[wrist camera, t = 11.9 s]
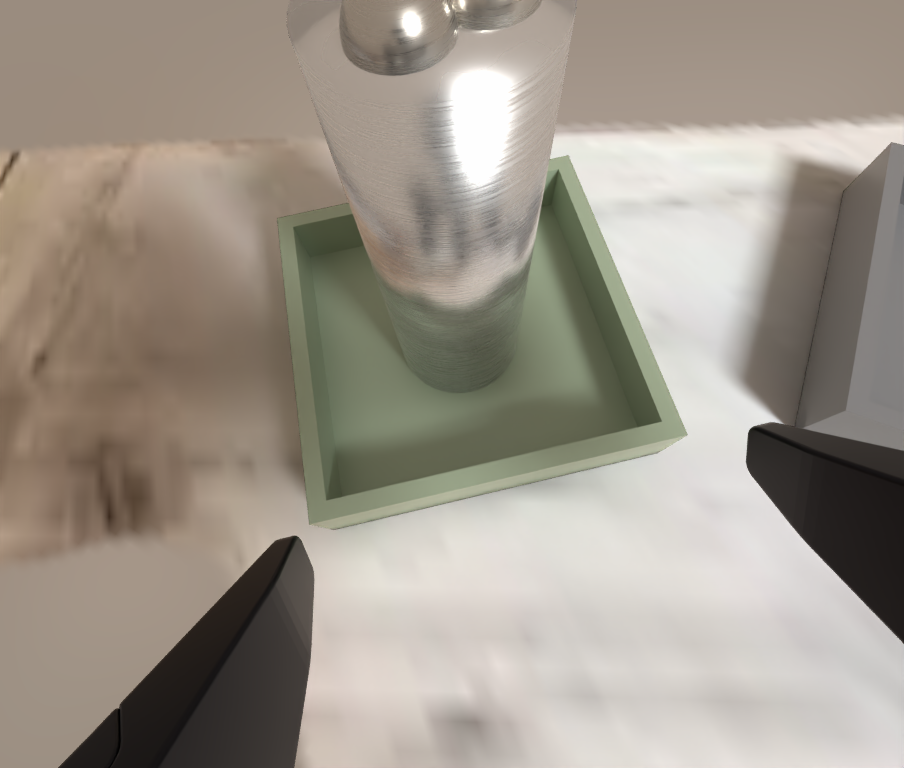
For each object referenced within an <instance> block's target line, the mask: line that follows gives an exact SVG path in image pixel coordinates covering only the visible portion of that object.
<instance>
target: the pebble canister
mask: <svg viewBox="0 0 904 768" xmlns="http://www.w3.org/2000/svg"><path fill="white" fill-rule="evenodd" d="M576 4H577V0H290V1H289V6H288V11H287V28H288V33H289V38H290V40H291V43H292V46H293V49H294V52H295V54H296V57H297V60H298V62H299V65H300V68H301V71H302V74H303V76H304V79H305V82H306V85H307V88H308V90H309V93H310V96H311V99H312V101H313V104H314V107H315V110H316V113H317V115H318V118H319V121H320V124H321V126H322V129H323V132H324V135H325V138H326V141H327V143H328V146H329V149H330V152H331V154H332V157H333V160H334V163H335V166H336V168H337V171H338V174H339V177H340V179H341V182H342V185H343V188H344V191H345V193H346V196H347V199H348V202H349V205H350V207H351V210H352V213H353V216H354V218H355V221H356V224H357V227H358V230H359V232H360V235H361V238H362V241H363V243H364V246H365V249H366V252H367V255H368V257H369V260H370V263H371V266H372V269H373V271H374V274H375V277H376V280H377V282H378V285H379V288H380V291H381V294H382V296H383V299H384V302H385V305H386V307H387V310H388V313H389V316H390V319H391V321H392V324H393V327H394V330H395V332H396V335H397V338H398V341H399V344H400V346H401V349H402V352H403V355H404V357H405V360H406V362H407V364H408V366H409V368H410V369H411V371H412V372H413V373H414V374H415V375H416V376H417V377H418V378H419V379H420V380H421V381H423V382H424V383H425V384H427V385H429V386H431V387H433V388H435V389H438V390H441V391H445V392H452V393H465V392H471V391H475V390H479V389H481V388H484V387H486V386H488V385H489V384H491V383H493V382H494V381H496V380H497V379H498V378H499V377H500V376H501V375H502V374H503V373H504V372H505V371H506V370H507V368H508V367H509V365H510V363H511V362H512V359H513V357H514V354H515V350H516V345H517V340H518V334H519V328H520V323H521V317H522V312H523V306H524V300H525V295H526V289H527V283H528V278H529V272H530V266H531V261H532V255H533V250H534V244H535V238H536V233H537V227H538V221H539V216H540V210H541V205H542V199H543V193H544V188H545V182H546V176H547V171H548V165H549V160H550V154H551V148H552V143H553V137H554V131H555V126H556V120H557V114H558V109H559V103H560V97H561V92H562V86H563V81H564V75H565V69H566V64H567V57H568V52H569V47H570V41H571V36H572V30H573V24H574V19H575V13H576Z"/></svg>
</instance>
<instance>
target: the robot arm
mask: <svg viewBox="0 0 904 768" xmlns="http://www.w3.org/2000/svg"><path fill="white" fill-rule="evenodd" d="M746 464H747V468H748V470H749V472H750V474H751V476H752V477H753V478H754V479H755V481H756V482H757V483H758V484H759V486H760V487H761V488H762V489H763V491H764V492H765V493H766V494H767V496H768V497H769V498H770V499H771V501H772V502H773V503H774V504H775V506H776V507H777V508H778V509H779V511H780V512H781V513H782V514H783V516H784V517H785V518H786V519H787V521H788V522H789V523H790V524H791V526H792V527H793V528H794V529H795V530H796V531H797V533H798V534H799V535H800V536H801V537H802V538H803V540H804V541H805V542H806V543H807V544H808V545H809V546H810V547H811V548H812V549H813V550H814V551H815V552H816V553H817V554H818V555H819V557H820V558H821V559H822V560H823V561H824V562H825V563H826V564H827V565H828V566H829V567H830V568H831V569H832V570H833V571H834V572H835V573H836V574H837V575H838V576H839V577H840V578H841V579H842V580H843V581H844V582H845V583H846V584H847V585H848V587H849V588H850V589H851V590H852V591H853V592H854V593H855V594H856V595H857V596H858V597H859V598H860V599H861V600H862V601H863V602H864V603H865V604H866V605H867V606H868V607H869V608H870V609H871V610H872V611H873V612H874V613H875V614H876V615H877V616H878V618H879V619H880V620H881V621H882V622H883V623H884V624H885V625H886V626H887V627H888V628H889V629H890V630H891V631H892V632H893V633H894V634H895V635H896V636H897V637H898V638H899V639H900V640H901V641H902V642H903V643H904V451H903V450H898V449H894V448H889V447H885V446H880V445H875V444H871V443H866V442H862V441H857V440H853V439H848V438H843V437H839V436H834V435H830V434H825V433H821V432H816V431H811V430H807V429H802V428H798V427H793V426H789V425H784V424H780V423H774V422H770V423H765V424H761V425H757V426H754V427H752V428H751V429H750V430H749V432H748V441H747V455H746ZM313 599H314V571H313V567H312V565H311V562H310V560H309V558H308V555H307V553H306V550H305V548H304V546H303V543H302V541H301V540H300V538H299V537H297V536H291V537H287V538H282V539H279V540H276V541H275V542H274V543H273V544H272V545H271V546H270V547H269V548H268V549H267V550H266V551H265V552H264V553H263V554H262V555H261V556H260V557H259V558H258V559H257V560H256V561H255V562H254V564H253V565H252V566H251V567H250V568H249V569H248V570H247V571H246V572H245V573H244V574H243V575H242V576H241V577H240V578H239V579H238V580H237V581H236V582H235V583H234V585H233V586H232V587H231V588H230V589H229V590H228V591H227V592H226V593H225V594H224V595H223V596H222V597H221V598H220V599H219V600H218V601H217V603H216V604H215V605H214V606H213V607H212V608H211V609H210V610H209V611H208V612H207V613H206V614H205V615H204V616H203V617H202V618H201V619H200V621H198V623H196V625H195V626H194V627H193V628H192V629H191V630H190V631H189V632H188V633H187V634H186V635H185V636H184V637H183V638H182V639H181V640H180V641H179V642H178V643H177V644H176V646H175V647H174V648H173V649H172V650H171V651H170V652H169V653H168V654H167V655H166V656H165V657H164V658H163V659H162V660H161V661H160V662H159V663H158V665H157V666H156V667H155V668H154V669H153V670H152V671H151V672H150V673H149V674H148V675H147V676H146V677H145V678H144V679H143V680H142V681H141V682H140V683H139V684H138V685H137V687H136V688H135V689H134V690H133V691H132V692H131V693H130V694H129V695H128V696H127V697H126V698H125V699H124V700H123V701H122V702H121V704H120V707H119V709H118V708H117V709H115V710H114V711H113V712H112V713H111V714H110V715H109V716H108V717H107V718H106V719H105V720H104V721H103V722H102V723H101V724H100V725H99V726H98V727H97V729H95V731H94V732H93V733H92V734H91V735H90V736H89V737H88V738H87V739H86V740H85V741H84V742H83V743H82V744H81V745H80V746H79V747H78V748H77V749H76V750H75V751H74V752H73V753H72V754H71V755H70V756H69V757H68V758H67V759H66V760H65V761H64V762H63V763H62V764H61V765H60V766H59V767H58V768H294V766H295V759H296V753H297V746H298V740H299V733H300V727H301V720H302V714H303V707H304V701H305V694H306V688H307V681H308V675H309V667H310V659H311V645H312V622H313Z"/></svg>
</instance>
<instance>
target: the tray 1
mask: <svg viewBox="0 0 904 768" xmlns="http://www.w3.org/2000/svg"><path fill="white" fill-rule="evenodd" d="M277 223H278V232H279V242H280V251H281V261H282V270H283V280H284V289H285V299H286V308H287V318H288V327H289V337H290V346H291V356H292V365H293V375H294V384H295V394H296V403H297V413H298V422H299V432H300V441H301V450H302V460H303V469H304V479H305V488H306V498H307V507H308V517H309V525H314V526H318V527H323V528H328V529H332V530H336V529H340V528H344V527H348V526H352V525H357V524H361V523H365V522H369V521H374V520H378V519H382V518H386V517H390V516H395V515H399V514H403V513H407V512H411V511H416V510H420V509H424V508H428V507H432V506H437V505H441V504H445V503H449V502H454V501H458V500H462V499H466V498H470V497H475V496H479V495H483V494H487V493H491V492H496V491H500V490H504V489H508V488H513V487H517V486H521V485H525V484H529V483H534V482H538V481H542V480H546V479H550V478H555V477H559V476H563V475H567V474H572V473H576V472H580V471H584V470H588V469H593V468H597V467H601V466H605V465H609V464H614V463H618V462H622V461H626V460H631V459H635V458H639V457H643V456H647V455H652V454H656V453H659V452H660V451H662V450H664V449H665V448H667V447H669V446H670V445H672V444H674V443H675V442H677V441H679V440H680V439H682V438H684V437H685V436H687V432H686V430H685V428H684V425H683V423H682V421H681V418H680V416H679V414H678V411H677V409H676V407H675V404H674V402H673V400H672V397H671V395H670V393H669V390H668V388H667V386H666V383H665V381H664V378H663V376H662V374H661V371H660V369H659V367H658V364H657V362H656V360H655V357H654V355H653V353H652V350H651V348H650V346H649V343H648V341H647V339H646V336H645V334H644V332H643V329H642V327H641V325H640V322H639V320H638V318H637V315H636V313H635V311H634V308H633V306H632V303H631V301H630V299H629V296H628V294H627V292H626V289H625V287H624V285H623V282H622V280H621V278H620V275H619V273H618V271H617V268H616V266H615V264H614V261H613V259H612V257H611V254H610V252H609V250H608V247H607V245H606V243H605V240H604V238H603V235H602V233H601V231H600V228H599V226H598V224H597V221H596V219H595V217H594V214H593V212H592V210H591V207H590V205H589V203H588V200H587V198H586V196H585V193H584V191H583V189H582V186H581V184H580V182H579V179H578V177H577V175H576V172H575V170H574V168H573V165H572V163H571V160H570V158H569V156H568V155H567V156H563V157H558V158H554V159H550V160H549V165H548V171H547V176H546V182H545V188H544V193H543V199H542V205H541V210H540V216H539V221H538V227H537V233H536V238H535V244H534V250H533V255H532V261H531V266H530V272H529V278H528V283H527V289H526V295H525V300H524V306H523V312H522V317H521V323H520V328H519V334H518V340H517V345H516V350H515V354H514V357H513V359H512V362H511V363H510V365H509V367H508V368H507V370H506V371H505V372H504V373H503V374H502V375H501V376H500V377H499V378H498V379H497V380H496V381H494V382H493V383H491V384H489V385H488V386H486V387H484V388H481V389H479V390H475V391H471V392H465V393H452V392H445V391H441V390H438V389H435V388H433V387H431V386H429V385H427V384H425V383H424V382H423V381H421V380H420V379H419V378H418V377H417V376H416V375H415V374H414V373H413V372H412V371H411V369H410V368H409V366H408V364H407V362H406V360H405V357H404V355H403V352H402V349H401V346H400V344H399V341H398V338H397V335H396V332H395V330H394V327H393V324H392V321H391V319H390V316H389V313H388V310H387V307H386V305H385V302H384V299H383V296H382V294H381V291H380V288H379V285H378V282H377V280H376V277H375V274H374V271H373V269H372V266H371V263H370V260H369V257H368V255H367V252H366V249H365V246H364V243H363V241H362V238H361V235H360V232H359V230H358V227H357V224H356V221H355V218H354V216H353V213H352V210H351V207H350V205H349V203H345V204H341V205H336V206H332V207H327V208H322V209H318V210H313V211H308V212H304V213H299V214H295V215H290V216H285V217H281V218H277Z"/></svg>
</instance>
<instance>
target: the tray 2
mask: <svg viewBox="0 0 904 768" xmlns="http://www.w3.org/2000/svg"><path fill="white" fill-rule="evenodd" d="M795 427H798V428H802V429H807V430H811V431H816V432H821V433H825V434H830V435H834V436H839V437H843V438H848V439H853V440H857V441H862V442H866V443H871V444H875V445H880V446H885V447H889V448H894V449H898V450H903V451H904V145H901V144H897V143H893V142H891V143H890V144H889V145H888V147H887V148H886V149H885V150H884V151H883V152H882V153H881V154H880V155H879V156H878V157H877V158H876V159H875V160H874V161H873V162H872V163H871V164H870V165H869V166H868V167H867V168H866V169H865V170H864V171H863V172H862V173H861V174H860V175H859V176H858V177H857V178H856V179H855V180H854V181H853V182H852V183H851V184H850V185H849V186H848V187H847V188H846V189H845V190H844V191H843V196H842V201H841V206H840V211H839V216H838V220H837V225H836V230H835V235H834V240H833V245H832V249H831V254H830V259H829V264H828V269H827V274H826V278H825V283H824V288H823V293H822V298H821V303H820V307H819V312H818V317H817V322H816V327H815V331H814V336H813V341H812V346H811V351H810V356H809V360H808V365H807V370H806V375H805V380H804V385H803V389H802V394H801V399H800V404H799V409H798V414H797V418H796V423H795Z"/></svg>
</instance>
